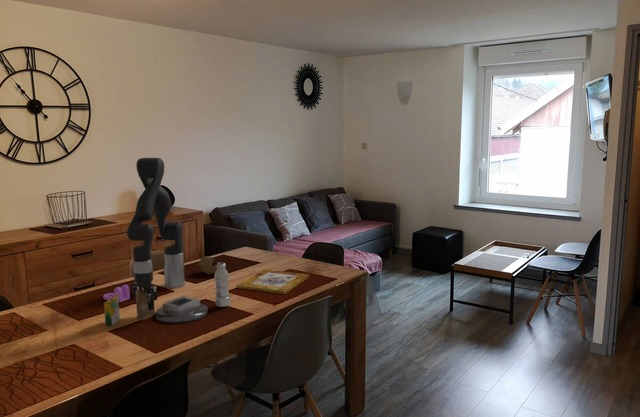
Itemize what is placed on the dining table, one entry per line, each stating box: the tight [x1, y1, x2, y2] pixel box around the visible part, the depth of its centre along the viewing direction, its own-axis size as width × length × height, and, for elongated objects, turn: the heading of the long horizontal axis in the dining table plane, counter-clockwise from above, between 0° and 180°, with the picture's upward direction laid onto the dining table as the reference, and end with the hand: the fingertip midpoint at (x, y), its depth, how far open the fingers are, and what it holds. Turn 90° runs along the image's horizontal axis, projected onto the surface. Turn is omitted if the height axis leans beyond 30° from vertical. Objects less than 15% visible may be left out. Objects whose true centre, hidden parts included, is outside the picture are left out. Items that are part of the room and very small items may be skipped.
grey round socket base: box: [154, 295, 209, 324], centre depth 214 cm, size 22×22×6 cm
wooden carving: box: [198, 255, 218, 275], centre depth 275 cm, size 16×5×10 cm, turn 58°
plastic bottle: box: [213, 261, 231, 308], centre depth 221 cm, size 6×7×20 cm
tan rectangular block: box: [135, 290, 156, 320], centre depth 211 cm, size 4×6×12 cm, turn 148°
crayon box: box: [103, 293, 121, 327], centre depth 204 cm, size 7×3×12 cm, turn 178°
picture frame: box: [236, 269, 310, 295], centre depth 258 cm, size 27×2×30 cm
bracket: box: [102, 284, 131, 303], centre depth 234 cm, size 13×6×7 cm, turn 64°
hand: (145, 308), depth 211 cm, fingers open, 6 cm apart
